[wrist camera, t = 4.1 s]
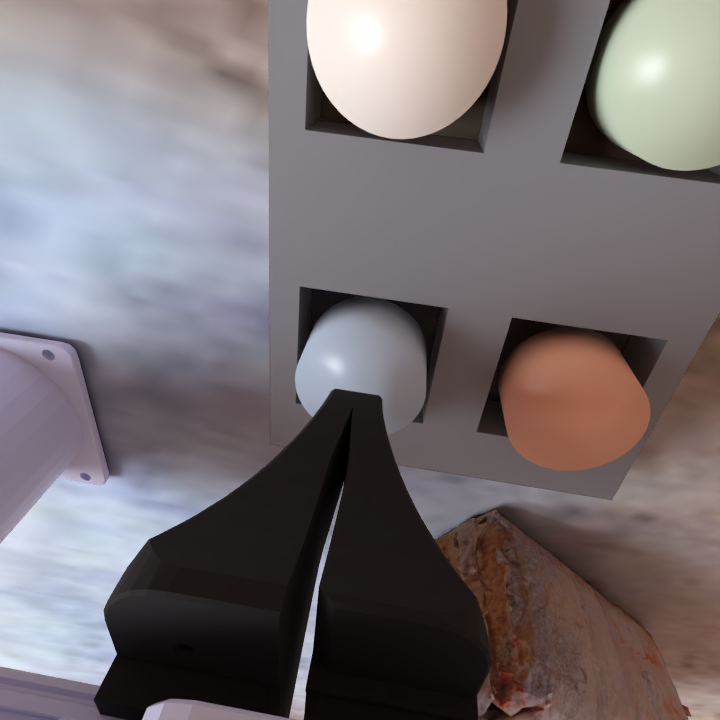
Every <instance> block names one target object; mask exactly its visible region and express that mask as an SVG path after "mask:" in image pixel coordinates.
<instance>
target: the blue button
mask: <svg viewBox="0 0 720 720" xmlns="http://www.w3.org/2000/svg"><path fill="white" fill-rule="evenodd" d="M426 373H427V345H426V340H425V337H424V334H423V331H422V329H421V328H420V326H419V324H418V323H417V322H416V320H415V319H414V318H413V317H412V316H411V315H410V314H409V313H408V312H407V311H405V310H404V309H402V308H401V307H399V306H398V305H396V304H394V303H391V302H389V301H386V300H383V299H379V298H373V297H357V298H350V299H347V300H343V301H341V302H339V303H336V304H335V305H333V306H331V307H330V308H328V309H327V310H326V311H325V312H324V313H323V314H322V315H321V316H320V317H319V319H318V320H317V322H316V323H315V325H314V327H313V330H312V332H311V334H310V337H309V339H308V341H307V344H306V346H305V348H304V351H303V353H302V355H301V358H300V360H299V362H298V365H297V369H296V373H295V386H296V391H297V394H298V397H299V399H300V401H301V403H302V405H303V407H304V408H305V409H306V411H307V412H308V413H309V414H310V415H311V416H312V417H313V416H314V415H315V414H316V412H317V411H318V410H319V408H320V407H321V406H322V404H323V403H324V401H325V400H326V398H327V397H328V395H329V393H330V392H331V391H332V390H334V389H335V388H336V389H342V390H348V391H355V392H361V393H367V394H374V395H379V396H380V397H381V398H382V399H383V401H382V406H383V416H384V421H385V426H386V431H387V435H390V434H393V433H395V432H397V431H399V430H401V429H403V428H404V427H406V426H407V425H408V424H410V423H411V422H412V421H413V420H414V419H415V418H416V417H417V415H418V414H419V412H420V411H421V409H422V407H423V404H424V401H425V397H426Z"/></svg>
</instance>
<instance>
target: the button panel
mask: <svg viewBox="0 0 720 720" xmlns="http://www.w3.org/2000/svg"><path fill="white" fill-rule="evenodd" d="M609 3H610V0H508V3H507V25H506V32H505V38H504V44H503V47H502V51H501V55H500V58H499V61H498V63H497V66H496V68H495V71H494V73H493V75H492V77H491V81H490V86H489V90H488V95H487V100H486V104H485V109H484V114H483V118H482V123H481V127H480V132H479V137H478V141H476V140H468V139H460V138H452V137H445V136H437V135H426V136H422V137H417V138H411V139H391V138H386V137H381V136H377V135H374V134H372V133H369V132H367V131H365V130H363V129H361V128H359V127H357V126H356V125H351V124H344V123H336V122H328V121H320V110H321V90H322V87H321V85H320V83H319V81H318V79H317V77H316V74H315V71H314V68H313V65H312V62H311V58H310V53H309V49H308V41H307V23H306V18H307V7H308V0H268V30H269V317H270V444H272V445H278V446H284V447H286V446H287V445H288V444H289V443H290V442H291V441H292V440H293V439H294V438H295V437H296V436H297V435H298V434H299V433H300V432H301V430H302V429H303V428H304V427H305V426H306V424H307V423H308V422H309V421H310V420H311V419H312V416H311V415H310V414H309V413H308V412H307V411H306V409H305V408H304V407H303V405H302V403H301V401H300V399H299V397H298V394H297V391H296V386H295V373H296V369H297V365H298V362H299V360H300V358H301V355H302V353H303V351H304V348H305V346H306V344H307V341H308V339H309V334H310V313H311V293H312V288H314V289H321V290H328V291H335V292H341V293H348V294H355V295H362V296H369V297H375V298H382V299H389V300H396V301H403V302H410V303H416V304H423V305H430V306H437V307H442V308H441V313H440V317H439V322H438V326H437V331H436V336H435V340H434V345H433V350H432V354H431V359H430V364H429V368H428V373H427V377H426V397H425V401H424V404H423V407H422V409H421V411H420V412H419V414H418V415H417V417H416V418H415V419H414V420H413V421H412V422H411V423H410V424H408V425H407V426H406V427H404V428H403V429H401V430H399V431H397V432H395V433H393V434H390V435H388V439H389V442H390V445H391V449H392V452H393V455H394V458H395V461H396V464H397V465H401V466H407V467H413V468H419V469H425V470H431V471H437V472H443V473H450V474H456V475H462V476H468V477H474V478H480V479H486V480H492V481H498V482H505V483H511V484H517V485H523V486H529V487H535V488H541V489H547V490H553V491H560V492H566V493H572V494H578V495H584V496H590V497H596V498H602V499H609V500H612V499H613V497H614V495H615V494H616V492H617V490H618V489H619V487H620V485H621V483H622V482H623V480H624V478H625V476H626V475H627V473H628V471H629V469H630V468H631V466H632V464H633V462H634V461H635V459H636V457H637V455H638V454H639V452H640V450H641V448H642V447H643V445H644V443H645V441H646V440H647V438H648V436H649V435H650V433H651V431H652V429H653V428H654V426H655V424H656V422H657V421H658V419H659V417H660V415H661V414H662V412H663V410H664V408H665V407H666V405H667V403H668V401H669V400H670V398H671V396H672V394H673V393H674V391H675V389H676V388H677V386H678V384H679V382H680V381H681V379H682V377H683V375H684V374H685V372H686V370H687V368H688V367H689V365H690V363H691V361H692V360H693V358H694V356H695V354H696V353H697V351H698V349H699V347H700V346H701V344H702V342H703V341H704V339H705V337H706V335H707V334H708V332H709V330H710V328H711V327H712V325H713V323H714V321H715V320H716V318H717V316H718V314H719V313H720V165H718V166H714V167H711V168H710V170H709V171H708V170H701V169H700V170H690V171H680V170H671V169H666V168H661V167H659V166H656V165H653V164H651V163H646V162H639V161H631V160H623V159H615V158H608V157H600V156H592V155H584V154H576V153H569V152H563V151H564V148H565V145H566V141H567V138H568V135H569V132H570V128H571V125H572V122H573V119H574V116H575V112H576V109H577V106H578V103H579V99H580V96H581V93H582V90H583V87H584V83H585V80H586V77H587V74H588V70H589V67H590V64H591V61H592V57H593V54H594V51H595V48H596V45H597V41H598V38H599V35H600V32H601V28H602V25H603V22H604V19H605V15H606V12H607V9H608V6H609ZM512 318H519V319H526V320H532V321H539V322H546V323H553V324H560V325H567V326H573V327H580V328H587V329H594V330H601V331H608V332H614V333H621V334H628V335H631V337H630V339H629V341H628V343H627V345H626V347H625V349H624V352H623V354H622V356H623V357H624V359H625V361H626V362H627V364H628V365H629V367H630V369H631V370H632V372H633V373H634V375H635V377H636V378H637V380H638V381H639V383H640V385H641V386H642V388H643V390H644V391H645V393H646V395H647V397H648V400H649V403H650V411H651V412H650V420H649V424H648V427H647V429H646V431H645V433H644V434H643V436H642V437H641V439H640V440H639V441H638V442H637V444H636V445H635V446H634V447H633V448H631V449H630V450H629V451H628V452H627V453H625V454H624V455H622V456H621V457H619V458H617V459H615V460H613V461H611V462H609V463H607V464H604V465H601V466H598V467H594V468H590V469H585V470H576V471H562V470H554V469H549V468H545V467H542V466H539V465H537V464H534V463H532V462H530V461H529V460H527V459H525V458H524V457H523V456H522V455H520V454H519V453H518V452H517V451H516V450H515V448H514V447H513V445H512V444H511V442H510V440H509V438H508V434H507V430H506V425H505V420H504V415H503V410H502V405H501V402H495V401H489V400H487V396H488V393H489V390H490V387H491V384H492V380H493V377H494V374H495V371H496V367H497V364H498V361H499V358H500V354H501V351H502V348H503V345H504V342H505V338H506V335H507V332H508V329H509V325H510V322H511V319H512Z"/></svg>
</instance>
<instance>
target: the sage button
mask: <svg viewBox="0 0 720 720" xmlns="http://www.w3.org/2000/svg"><path fill="white" fill-rule="evenodd" d="M586 98H587V104H588V108H589V112H590V115H591V117H592V119H593V122H594V123H595V125H596V127H597V128H598V130H599V131H600V132H601V133H602V134H603V135H604V137H605V138H607V139H608V140H609V141H610V142H612V143H613V144H615V145H617V146H618V147H620V148H622V149H624V150H626V151H628V152H630V153H632V154H634V155H636V156H637V157H639V158H641V159H643V160H645V161H647V162H649V163H651V164H653V165H656V166H659V167H661V168H666V169H671V170H680V171H690V170H700V169H706V168H711V167H714V166H718V165H720V0H624V1H623V2H622V3H621V4H620V5H619V6H618V7H617V9H616V10H615V11H614V13H613V14H612V15H611V17H610V18H609V19H608V21H607V23H606V24H605V26H604V27H603V29H602V31H601V33H600V35H599V38H598V41H597V45H596V48H595V51H594V54H593V57H592V61H591V64H590V67H589V70H588V74H587V77H586Z"/></svg>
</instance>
